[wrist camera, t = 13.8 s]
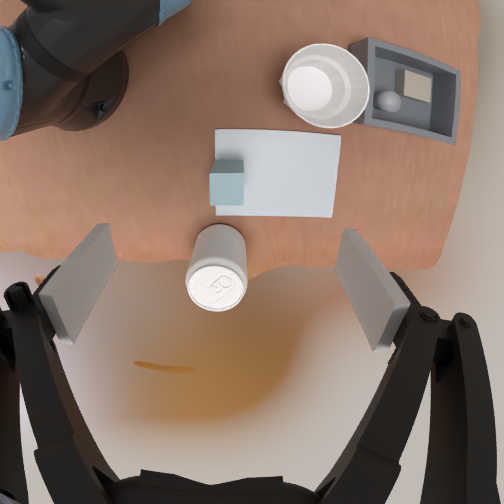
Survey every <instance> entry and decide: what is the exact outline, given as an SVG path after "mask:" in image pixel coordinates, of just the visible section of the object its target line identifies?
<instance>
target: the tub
mask: <svg viewBox="0 0 504 504" xmlns="http://www.w3.org/2000/svg"><path fill="white" fill-rule="evenodd" d="M349 53H351V54H352V55H353V56H354V57H356V58H357V59H358V61H359V62H360V63H361V65H362V66H363V67H364V70H365V72H366V74H367V76H368V80H369V86H370V92H369V100H368V102H367V105H366V108H365V109H364V111H363V112H362V113H361V115H360V116H359V117H358V118H357V119H356V120H354V121H353V122H355V123H359V124H364V125H370V126H375V127H381V128H386V129H391V130H396V131H401V132H405V133H410V134H414V135H419V136H423V137H427V138H431V139H435V140H438V141H442V142H446V143H449V144H453V145H455V143H456V136H457V127H458V117H459V105H460V86H461V71H460V70H458V69H455V68H453V67H451V66H449V65H447V64H444V63H442V62H440V61H437V60H435V59H432V58H430V57H427V56H425V55H422V54H419V53H417V52H414V51H411V50H408V49H405V48H402V47H399V46H396V45H393V44H390V43H386V42H383V41H379V40H376V39H372V38H366V39H363V40H361V41H359V42H356V43H354V44H352V45H350V46H349Z"/></svg>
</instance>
